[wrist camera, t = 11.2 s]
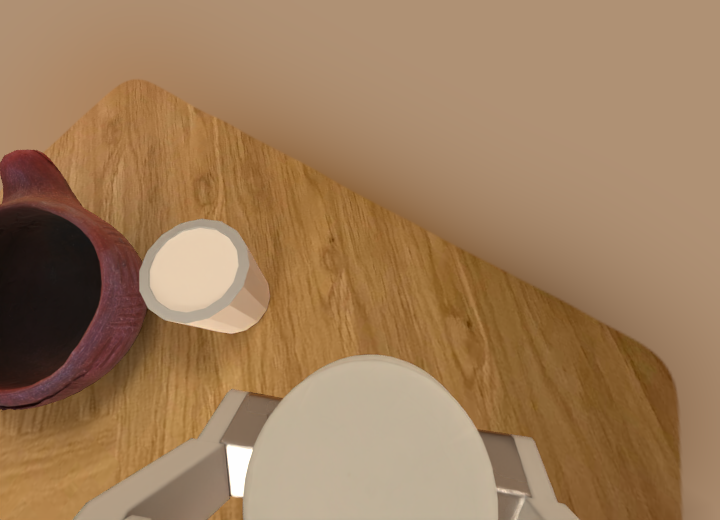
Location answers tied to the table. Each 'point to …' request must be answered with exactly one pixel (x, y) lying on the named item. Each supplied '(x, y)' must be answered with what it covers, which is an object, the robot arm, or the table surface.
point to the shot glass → (204, 278)
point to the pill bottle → (369, 450)
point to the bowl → (59, 287)
